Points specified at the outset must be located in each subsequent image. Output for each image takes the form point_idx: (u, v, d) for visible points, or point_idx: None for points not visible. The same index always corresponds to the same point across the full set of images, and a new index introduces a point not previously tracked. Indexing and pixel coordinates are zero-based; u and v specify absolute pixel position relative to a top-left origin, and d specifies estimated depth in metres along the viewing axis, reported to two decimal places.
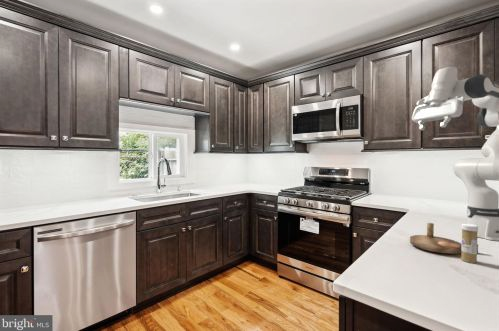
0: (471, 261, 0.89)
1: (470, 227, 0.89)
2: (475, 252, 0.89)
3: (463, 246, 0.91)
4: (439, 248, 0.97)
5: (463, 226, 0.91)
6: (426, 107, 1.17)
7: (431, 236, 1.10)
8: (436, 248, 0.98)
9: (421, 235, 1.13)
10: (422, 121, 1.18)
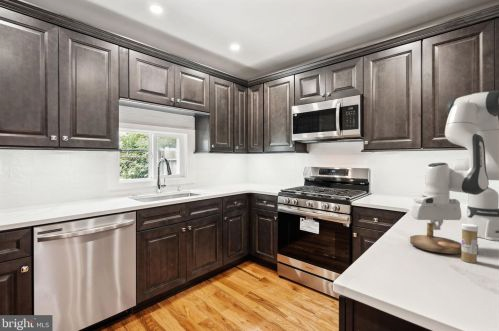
0: (471, 261, 0.89)
1: (470, 227, 0.89)
2: (475, 252, 0.89)
3: (463, 246, 0.91)
4: (439, 248, 0.97)
5: (463, 226, 0.91)
6: (431, 207, 1.09)
7: (431, 236, 1.10)
8: (436, 248, 0.98)
9: (421, 235, 1.13)
10: None
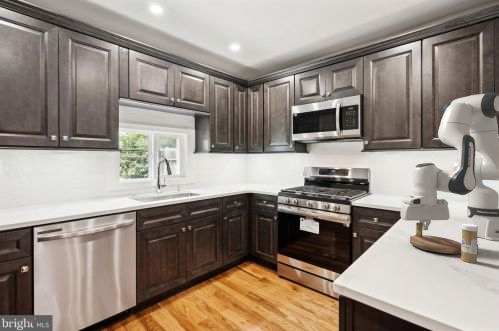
0: (471, 261, 0.89)
1: (470, 227, 0.89)
2: (475, 252, 0.89)
3: (463, 246, 0.91)
4: (457, 249, 0.96)
5: (463, 226, 0.91)
6: (419, 207, 1.10)
7: (421, 236, 1.11)
8: (455, 250, 0.96)
9: (412, 236, 1.11)
10: None
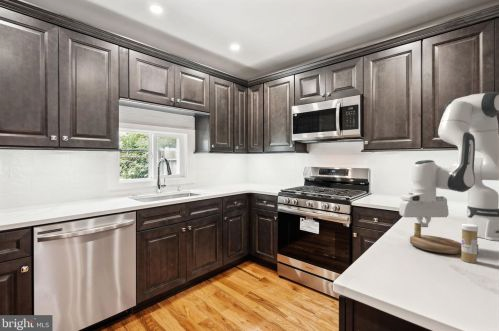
0: (471, 261, 0.89)
1: (470, 227, 0.89)
2: (475, 252, 0.89)
3: (463, 246, 0.91)
4: (460, 249, 0.97)
5: (463, 226, 0.91)
6: (418, 204, 1.10)
7: (420, 236, 1.10)
8: (458, 249, 0.96)
9: (411, 237, 1.10)
10: None
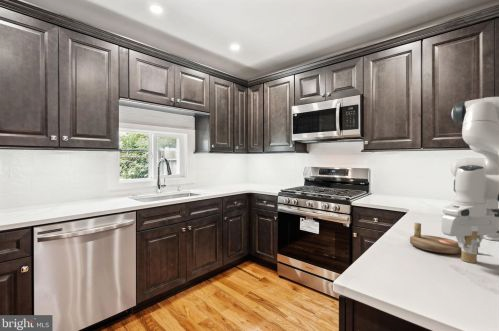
0: (471, 261, 0.89)
1: None
2: (475, 252, 0.89)
3: None
4: (460, 249, 0.97)
5: None
6: (466, 220, 0.89)
7: (420, 236, 1.10)
8: (458, 249, 0.96)
9: (411, 237, 1.10)
10: None
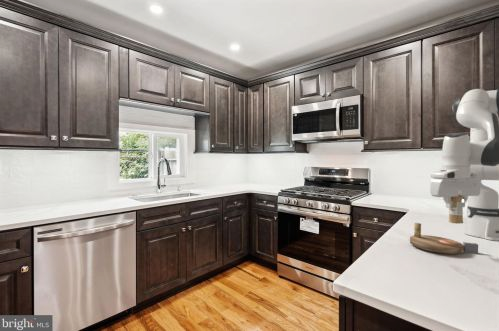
0: (458, 222, 0.99)
1: None
2: (461, 213, 0.99)
3: (450, 209, 1.01)
4: (460, 249, 0.97)
5: None
6: (452, 182, 0.98)
7: (420, 236, 1.10)
8: (458, 249, 0.96)
9: (411, 237, 1.10)
10: None
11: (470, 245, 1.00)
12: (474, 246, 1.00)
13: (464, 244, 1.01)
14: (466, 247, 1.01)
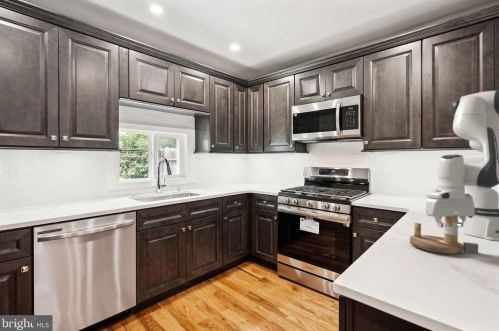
0: (452, 241, 1.01)
1: None
2: (456, 233, 1.01)
3: (445, 228, 1.03)
4: (460, 249, 0.97)
5: None
6: (447, 202, 1.01)
7: (420, 236, 1.10)
8: (458, 249, 0.96)
9: (411, 237, 1.10)
10: None
11: (470, 245, 1.00)
12: (474, 246, 1.00)
13: (464, 244, 1.01)
14: (466, 247, 1.01)
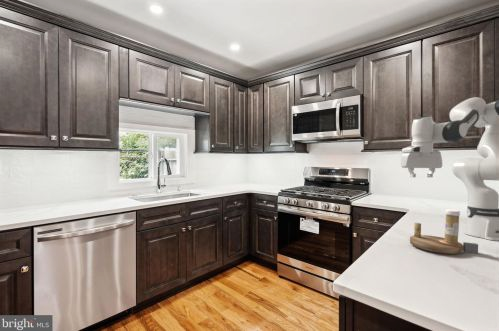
0: (452, 242, 1.01)
1: (452, 212, 1.01)
2: (456, 234, 1.01)
3: (446, 229, 1.03)
4: (460, 249, 0.97)
5: (447, 211, 1.03)
6: (418, 156, 1.19)
7: (420, 236, 1.10)
8: (458, 249, 0.96)
9: (411, 237, 1.10)
10: None
11: (470, 245, 1.00)
12: (474, 246, 1.00)
13: (464, 244, 1.01)
14: (466, 247, 1.01)
